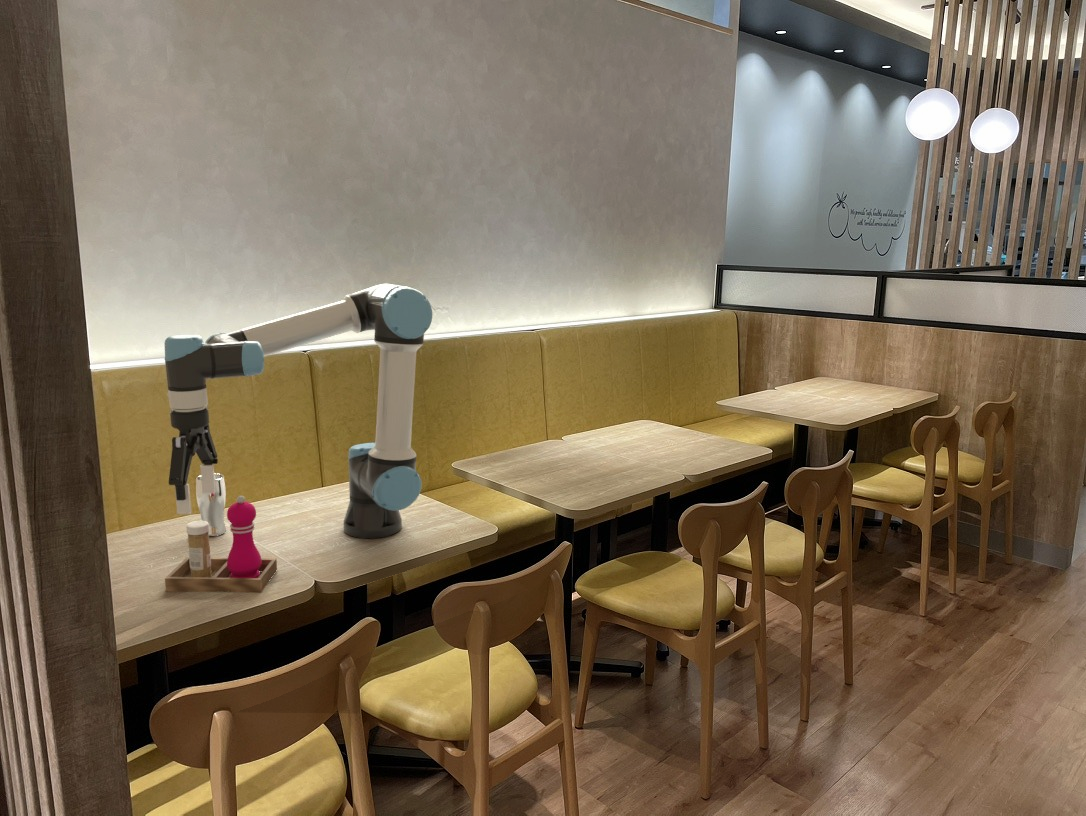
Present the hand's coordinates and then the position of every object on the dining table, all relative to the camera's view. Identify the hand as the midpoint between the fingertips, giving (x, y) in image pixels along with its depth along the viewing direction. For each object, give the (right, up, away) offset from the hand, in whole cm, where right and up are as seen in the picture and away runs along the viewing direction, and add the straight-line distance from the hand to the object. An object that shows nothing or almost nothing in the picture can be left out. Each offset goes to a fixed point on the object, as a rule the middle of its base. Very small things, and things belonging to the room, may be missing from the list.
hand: (197, 502), depth 177 cm
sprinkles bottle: (-1, -18, +4) cm, 18 cm away
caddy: (+4, -18, +4) cm, 19 cm away
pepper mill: (+9, -18, +4) cm, 21 cm away
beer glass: (-9, -12, +32) cm, 35 cm away
